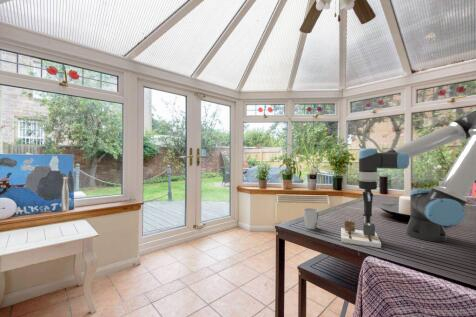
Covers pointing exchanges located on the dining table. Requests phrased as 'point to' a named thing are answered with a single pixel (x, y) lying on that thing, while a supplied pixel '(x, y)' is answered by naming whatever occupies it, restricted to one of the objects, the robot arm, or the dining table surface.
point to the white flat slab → (359, 238)
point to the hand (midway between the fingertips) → (367, 229)
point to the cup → (310, 217)
